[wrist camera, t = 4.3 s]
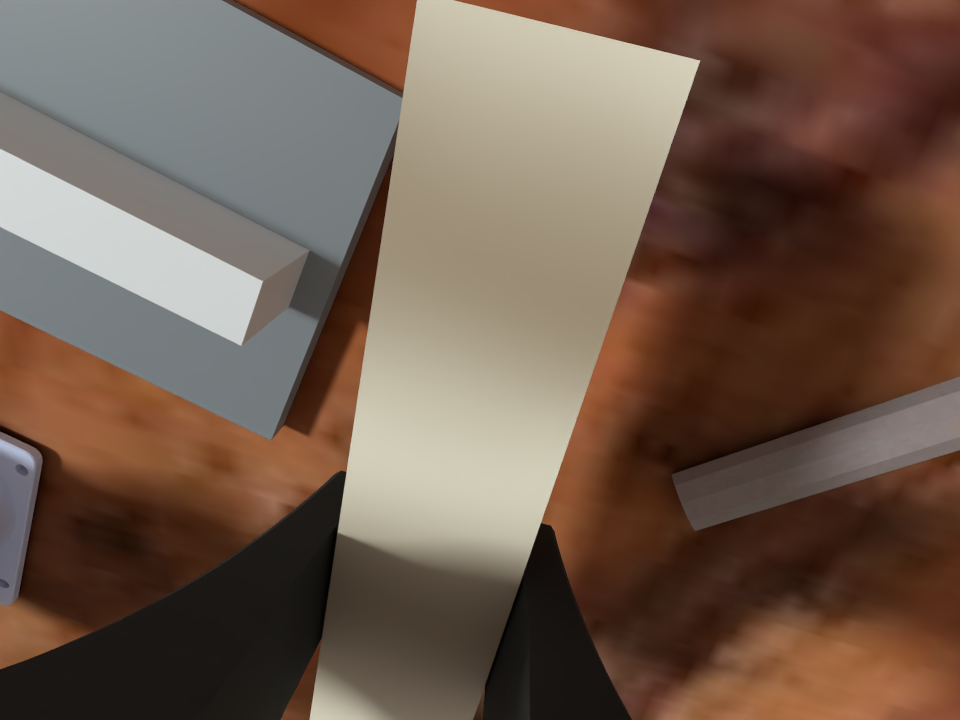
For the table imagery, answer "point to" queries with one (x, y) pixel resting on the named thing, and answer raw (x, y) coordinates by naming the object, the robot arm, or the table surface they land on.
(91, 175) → the grey stepped base
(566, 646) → the robot arm
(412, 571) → the birch beam
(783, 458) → the metal rod
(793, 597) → the table surface
